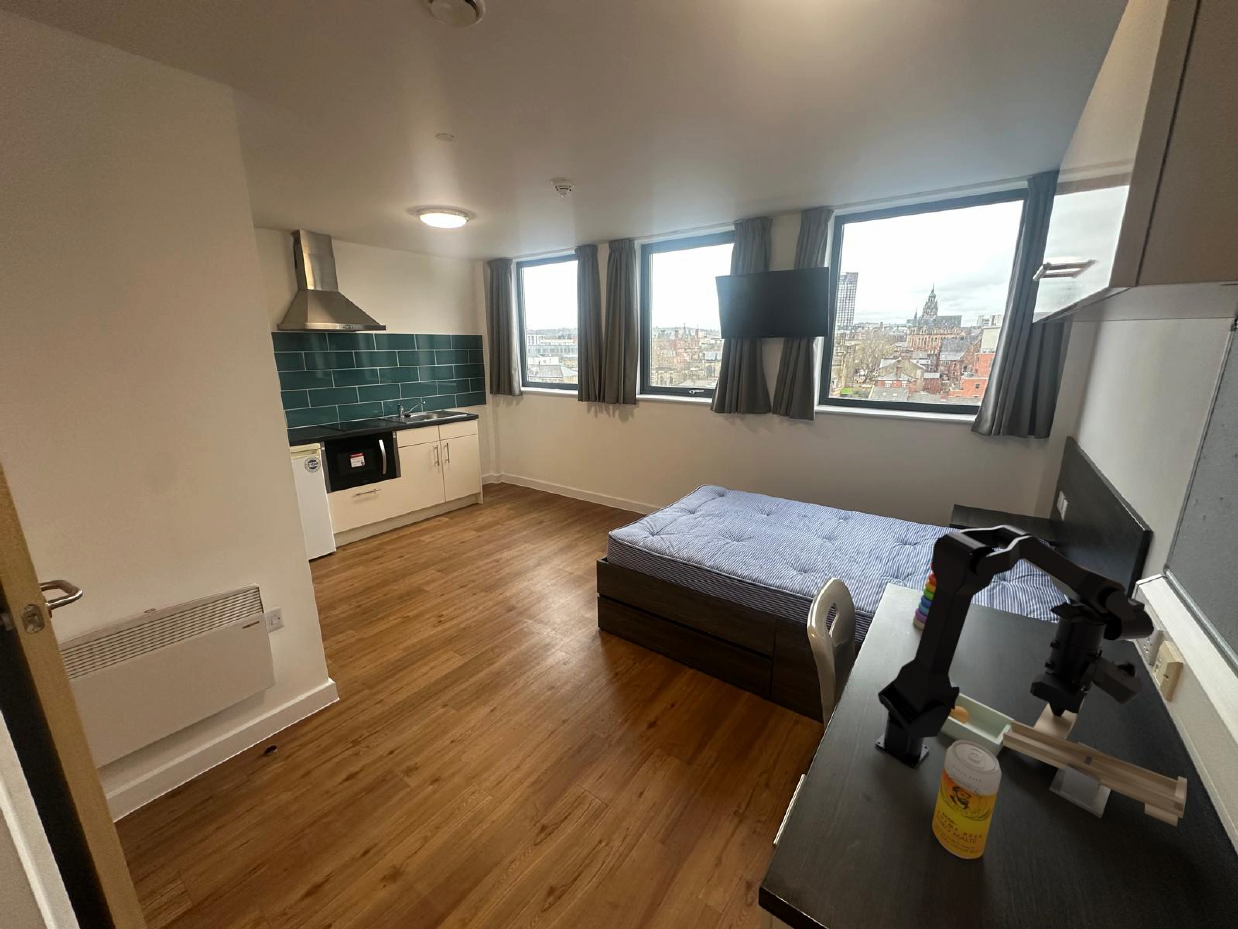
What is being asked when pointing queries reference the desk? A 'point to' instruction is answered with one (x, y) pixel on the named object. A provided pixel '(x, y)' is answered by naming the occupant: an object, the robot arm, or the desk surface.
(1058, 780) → the silver support block
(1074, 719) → the lever
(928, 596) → the stacking toy
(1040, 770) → the desk surface
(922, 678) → the robot arm
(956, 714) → the ball
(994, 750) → the tray
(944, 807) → the beer can
